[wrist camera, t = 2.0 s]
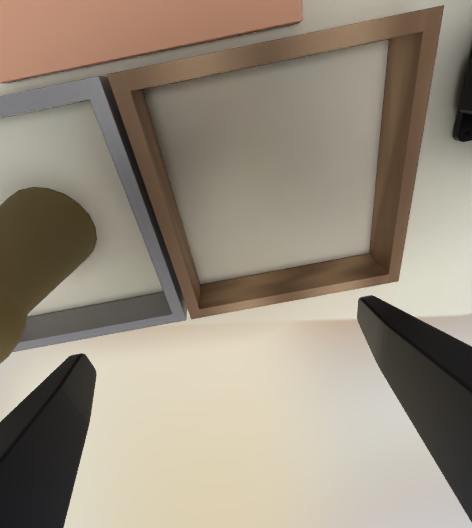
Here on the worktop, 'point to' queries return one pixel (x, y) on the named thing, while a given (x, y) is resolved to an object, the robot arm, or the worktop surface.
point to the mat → (121, 29)
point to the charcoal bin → (154, 305)
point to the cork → (37, 253)
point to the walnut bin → (388, 171)
